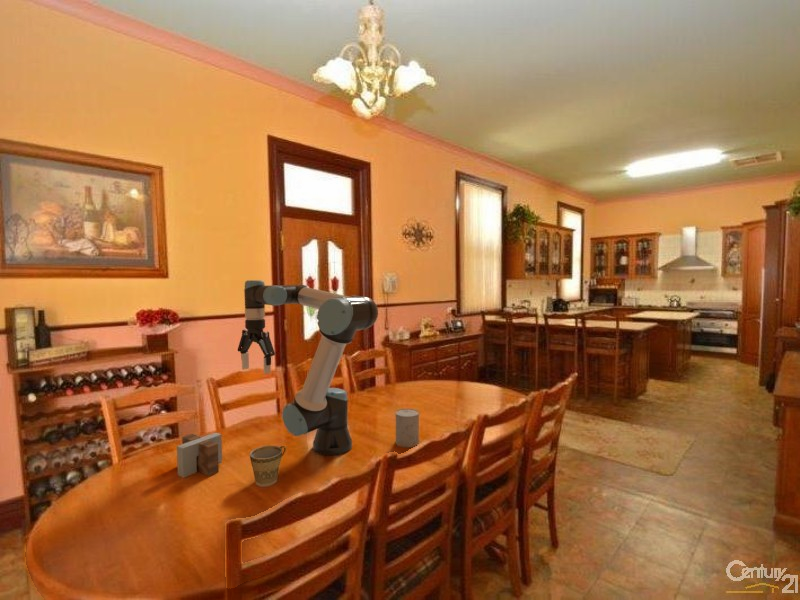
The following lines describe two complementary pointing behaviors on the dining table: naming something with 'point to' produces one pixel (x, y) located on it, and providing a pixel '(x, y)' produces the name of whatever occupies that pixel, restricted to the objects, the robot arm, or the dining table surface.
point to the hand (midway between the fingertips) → (256, 371)
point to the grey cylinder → (407, 427)
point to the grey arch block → (194, 454)
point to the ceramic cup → (266, 464)
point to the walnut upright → (205, 455)
